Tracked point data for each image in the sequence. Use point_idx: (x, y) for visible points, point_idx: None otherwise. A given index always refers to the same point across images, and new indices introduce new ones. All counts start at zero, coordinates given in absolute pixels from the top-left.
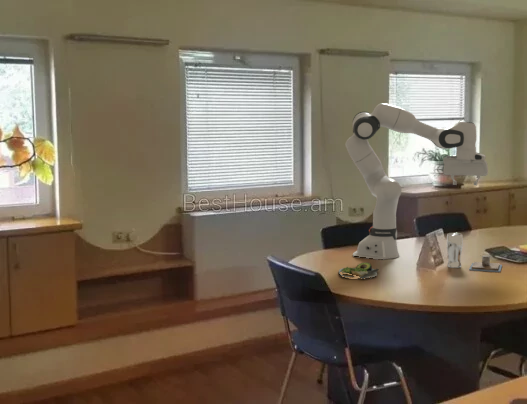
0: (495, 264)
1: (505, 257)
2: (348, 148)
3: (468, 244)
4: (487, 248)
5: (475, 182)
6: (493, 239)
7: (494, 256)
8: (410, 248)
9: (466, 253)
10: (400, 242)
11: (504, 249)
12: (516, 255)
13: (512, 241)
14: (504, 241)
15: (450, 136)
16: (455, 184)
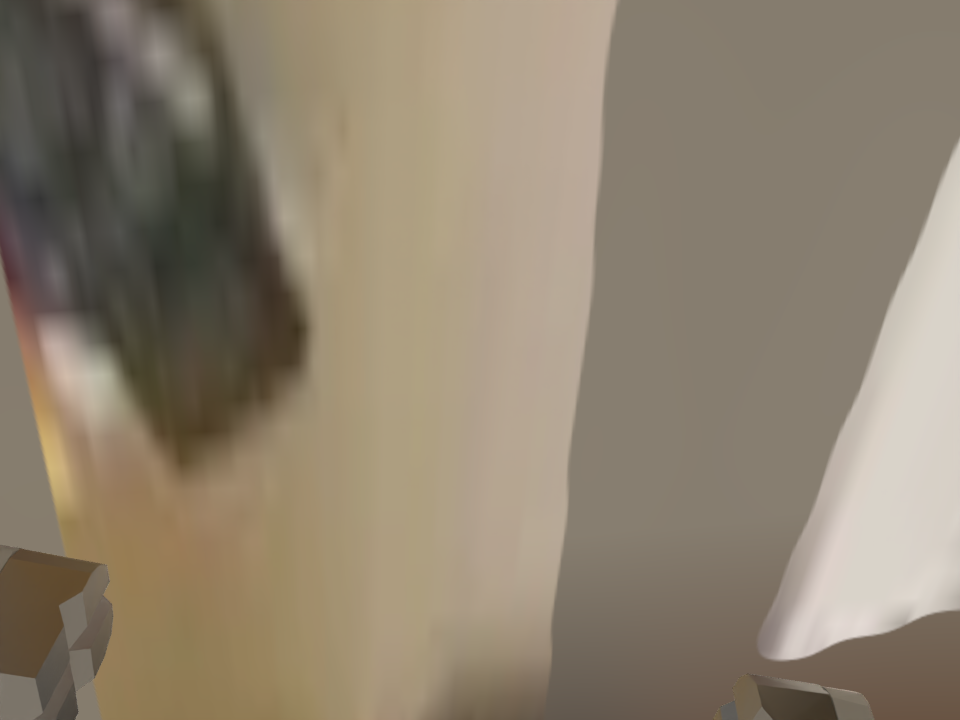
0: None
1: (107, 54)
2: None
3: (429, 504)
4: (288, 392)
5: None
6: (262, 634)
7: (211, 90)
8: (927, 356)
9: (463, 198)
10: (937, 541)
11: (157, 367)
12: (27, 153)
13: (136, 591)
14: (187, 590)
15: None
16: (773, 678)
